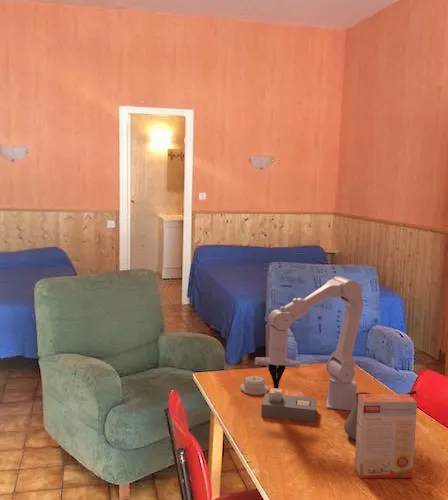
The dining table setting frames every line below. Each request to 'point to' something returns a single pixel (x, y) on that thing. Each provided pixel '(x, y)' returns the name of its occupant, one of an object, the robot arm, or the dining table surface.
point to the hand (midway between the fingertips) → (276, 387)
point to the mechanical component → (254, 385)
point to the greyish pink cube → (275, 395)
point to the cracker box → (385, 435)
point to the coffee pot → (351, 421)
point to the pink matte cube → (303, 402)
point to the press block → (289, 408)
